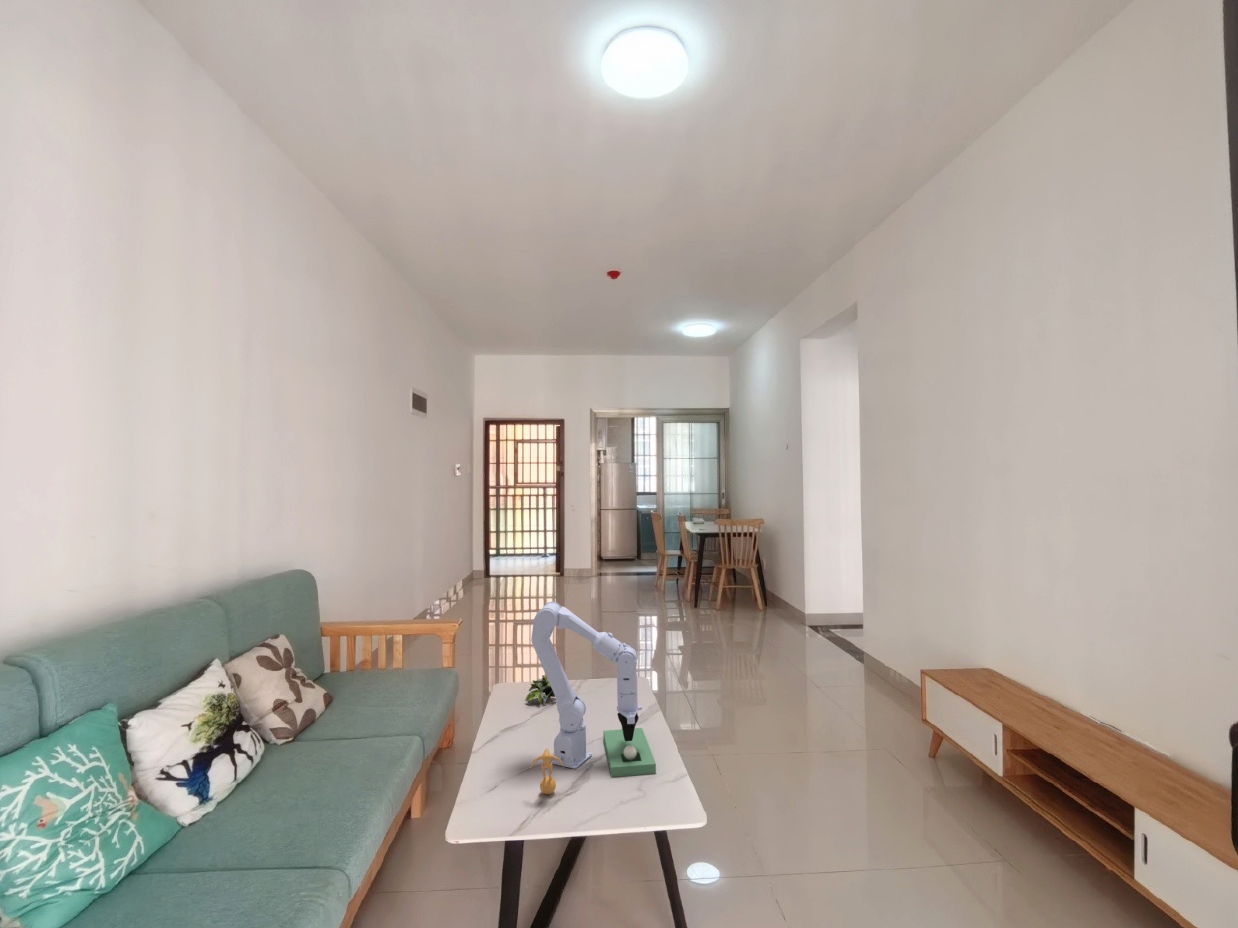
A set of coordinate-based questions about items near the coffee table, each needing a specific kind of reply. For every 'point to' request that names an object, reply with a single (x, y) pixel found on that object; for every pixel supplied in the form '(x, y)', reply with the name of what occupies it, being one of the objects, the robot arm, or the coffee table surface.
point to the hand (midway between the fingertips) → (628, 739)
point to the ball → (630, 752)
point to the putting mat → (617, 759)
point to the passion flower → (540, 690)
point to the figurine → (547, 782)
